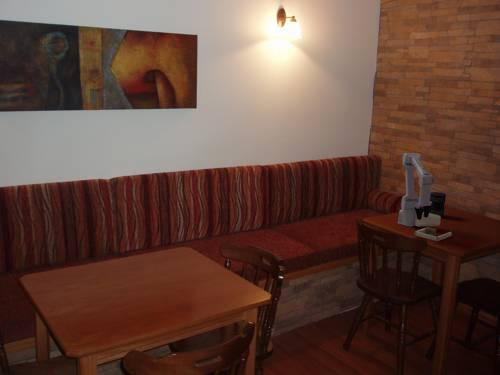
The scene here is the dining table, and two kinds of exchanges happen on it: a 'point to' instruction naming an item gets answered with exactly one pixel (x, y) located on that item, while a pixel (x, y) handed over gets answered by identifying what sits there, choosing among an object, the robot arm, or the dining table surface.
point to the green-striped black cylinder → (437, 203)
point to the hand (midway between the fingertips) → (422, 218)
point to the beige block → (430, 231)
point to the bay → (422, 231)
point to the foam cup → (428, 220)
